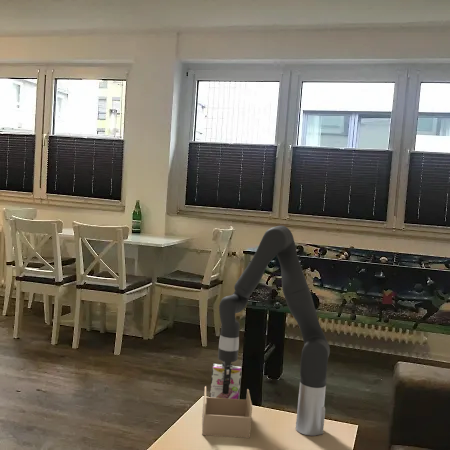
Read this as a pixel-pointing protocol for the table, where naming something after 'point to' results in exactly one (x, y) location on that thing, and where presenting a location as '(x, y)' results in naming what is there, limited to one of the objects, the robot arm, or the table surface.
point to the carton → (226, 416)
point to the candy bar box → (217, 380)
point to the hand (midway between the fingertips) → (225, 390)
